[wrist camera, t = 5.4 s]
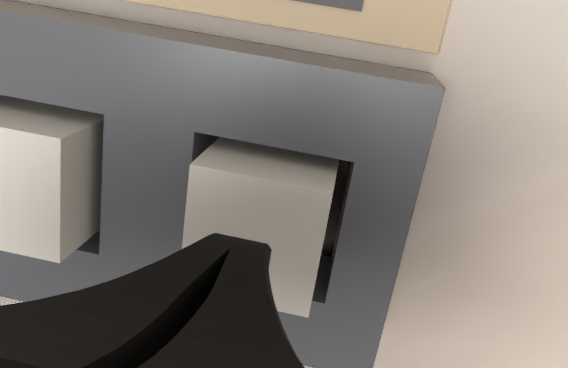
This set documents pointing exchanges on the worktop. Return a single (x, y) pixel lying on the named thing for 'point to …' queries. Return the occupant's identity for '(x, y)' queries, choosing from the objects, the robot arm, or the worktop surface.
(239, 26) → the worktop surface
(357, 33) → the pattern card
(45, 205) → the button middle
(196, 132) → the button board
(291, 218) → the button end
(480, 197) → the worktop surface
